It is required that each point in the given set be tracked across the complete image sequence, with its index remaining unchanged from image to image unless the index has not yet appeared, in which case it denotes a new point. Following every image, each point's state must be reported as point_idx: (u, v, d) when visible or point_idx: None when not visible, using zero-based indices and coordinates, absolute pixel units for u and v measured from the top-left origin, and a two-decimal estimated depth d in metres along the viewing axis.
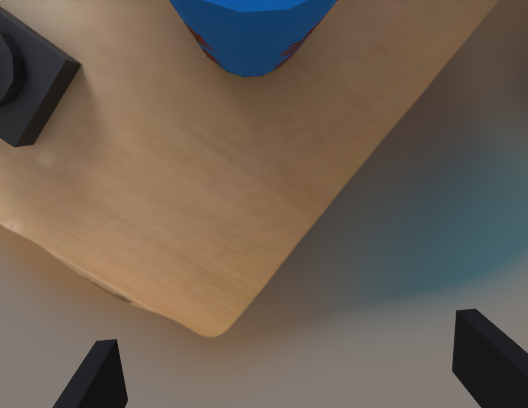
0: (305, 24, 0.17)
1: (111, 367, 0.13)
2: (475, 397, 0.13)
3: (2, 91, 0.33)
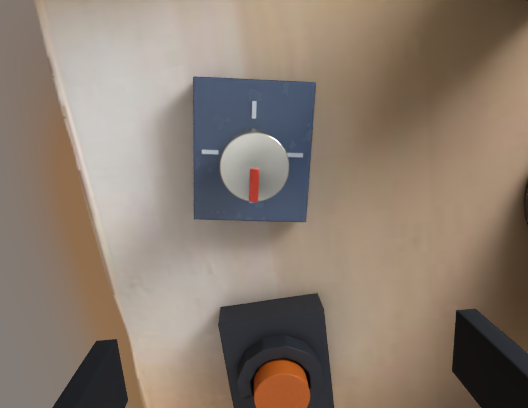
0: None
1: (111, 367, 0.13)
2: (475, 397, 0.13)
3: None
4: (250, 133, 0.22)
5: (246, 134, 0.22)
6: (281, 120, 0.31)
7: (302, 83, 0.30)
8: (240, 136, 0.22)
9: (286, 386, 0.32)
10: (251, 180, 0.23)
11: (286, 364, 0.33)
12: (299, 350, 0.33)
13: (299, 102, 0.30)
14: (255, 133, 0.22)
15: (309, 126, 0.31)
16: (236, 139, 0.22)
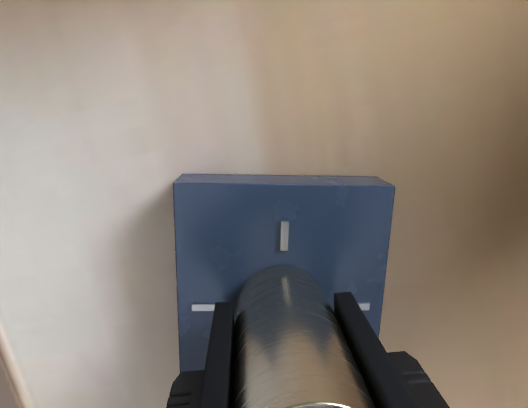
0: None
1: (233, 323, 0.15)
2: None
3: None
4: (303, 406, 0.09)
5: None
6: (333, 250, 0.17)
7: (371, 188, 0.17)
8: None
9: None
10: None
11: None
12: None
13: (365, 221, 0.17)
14: (316, 405, 0.09)
15: (381, 259, 0.17)
16: None
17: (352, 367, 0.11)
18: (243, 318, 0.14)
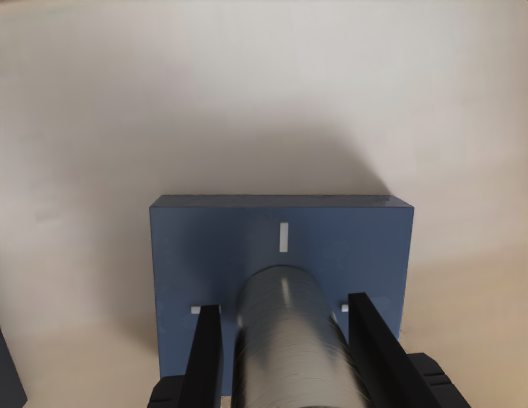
0: None
1: (218, 327, 0.15)
2: None
3: None
4: None
5: None
6: None
7: None
8: None
9: None
10: None
11: None
12: None
13: None
14: None
15: None
16: None
17: (353, 370, 0.11)
18: (243, 320, 0.14)
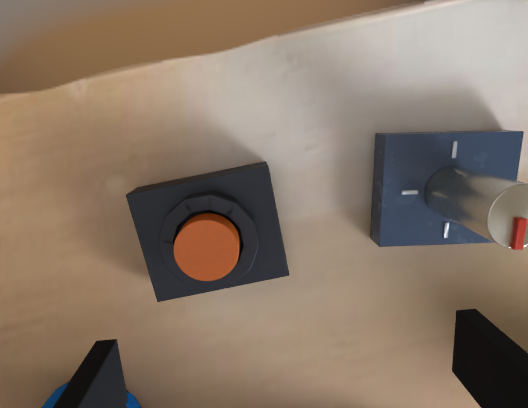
0: None
1: (111, 367, 0.13)
2: (475, 397, 0.13)
3: (163, 248, 0.29)
4: (520, 185, 0.23)
5: (516, 186, 0.23)
6: None
7: None
8: (510, 188, 0.23)
9: (221, 254, 0.28)
10: (519, 229, 0.24)
11: None
12: (253, 259, 0.30)
13: None
14: (524, 185, 0.23)
15: (470, 240, 0.33)
16: (506, 191, 0.23)
17: None
18: (450, 183, 0.29)
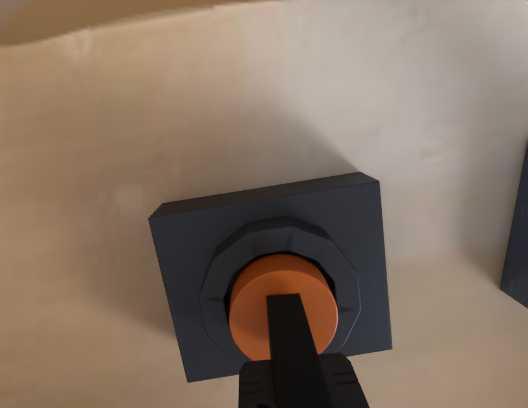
0: None
1: None
2: None
3: (207, 309, 0.18)
4: None
5: None
6: None
7: None
8: None
9: None
10: None
11: None
12: (350, 331, 0.19)
13: None
14: None
15: None
16: None
17: None
18: None
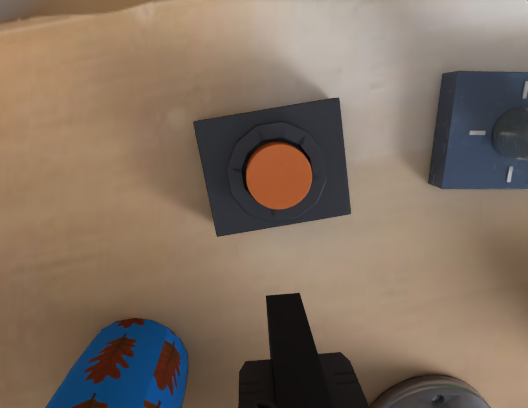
0: None
1: None
2: None
3: (231, 176, 0.29)
4: None
5: None
6: None
7: None
8: None
9: (294, 181, 0.28)
10: None
11: None
12: (321, 192, 0.30)
13: None
14: None
15: None
16: None
17: None
18: (526, 119, 0.28)
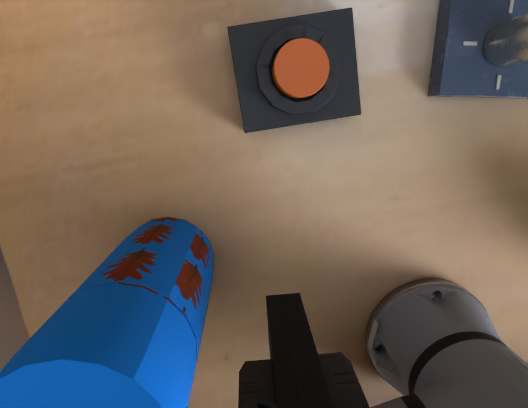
0: None
1: None
2: None
3: (260, 71, 0.34)
4: None
5: None
6: (526, 70, 0.38)
7: None
8: None
9: (314, 71, 0.33)
10: None
11: None
12: (336, 88, 0.35)
13: None
14: None
15: (518, 94, 0.38)
16: None
17: None
18: (510, 23, 0.33)
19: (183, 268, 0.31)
